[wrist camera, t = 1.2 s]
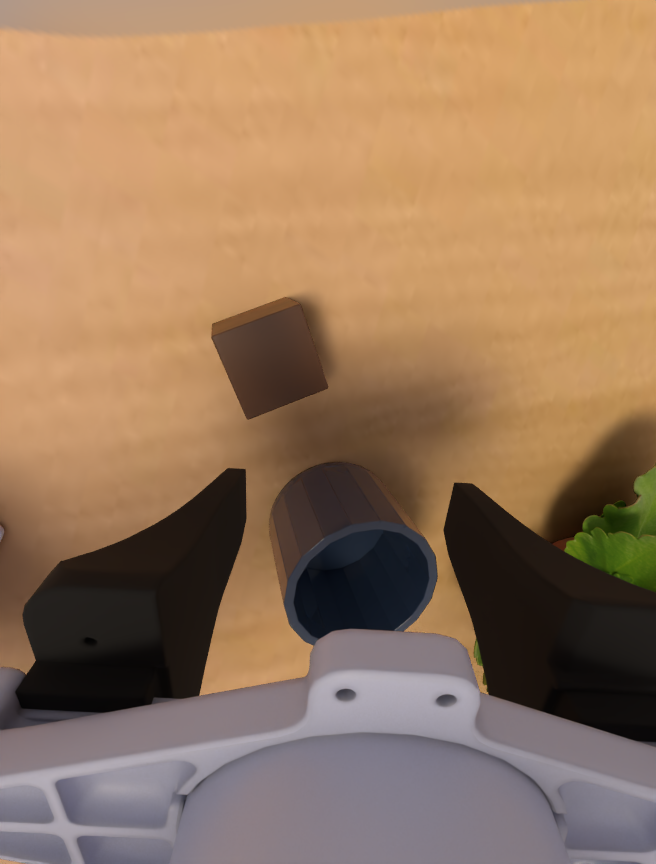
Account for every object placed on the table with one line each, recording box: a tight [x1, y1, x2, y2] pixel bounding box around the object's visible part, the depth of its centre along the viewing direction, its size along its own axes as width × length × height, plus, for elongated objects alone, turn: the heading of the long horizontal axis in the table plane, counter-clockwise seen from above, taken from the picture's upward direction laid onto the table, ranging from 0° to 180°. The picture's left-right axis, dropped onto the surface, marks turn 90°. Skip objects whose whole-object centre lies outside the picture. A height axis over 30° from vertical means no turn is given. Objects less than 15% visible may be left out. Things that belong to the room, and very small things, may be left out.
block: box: [212, 297, 328, 419], centre depth 22 cm, size 4×4×4 cm
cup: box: [269, 462, 438, 646], centre depth 26 cm, size 8×8×7 cm
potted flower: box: [474, 464, 656, 692], centre depth 29 cm, size 25×24×18 cm
